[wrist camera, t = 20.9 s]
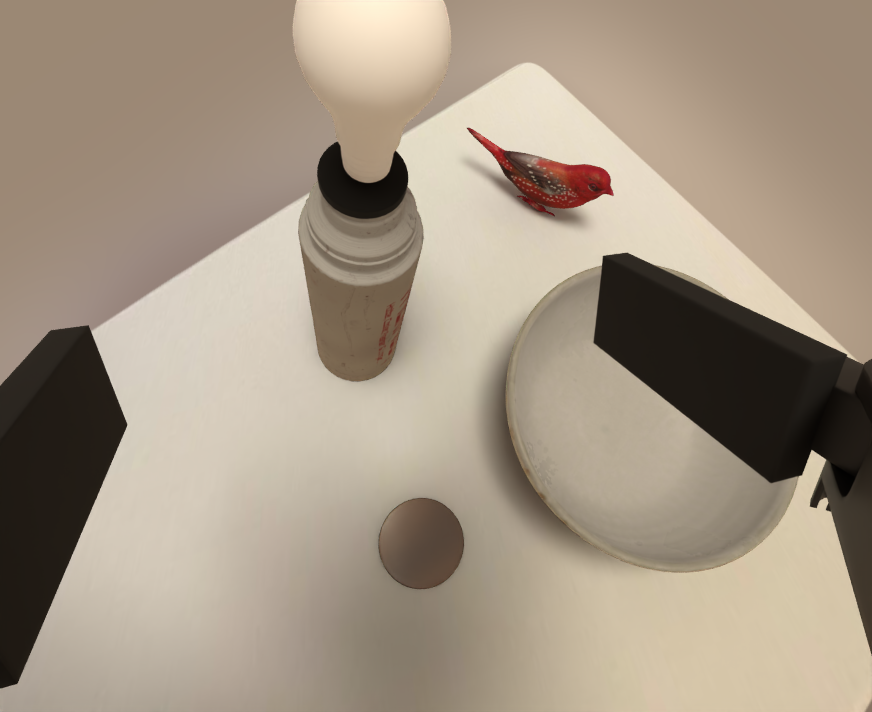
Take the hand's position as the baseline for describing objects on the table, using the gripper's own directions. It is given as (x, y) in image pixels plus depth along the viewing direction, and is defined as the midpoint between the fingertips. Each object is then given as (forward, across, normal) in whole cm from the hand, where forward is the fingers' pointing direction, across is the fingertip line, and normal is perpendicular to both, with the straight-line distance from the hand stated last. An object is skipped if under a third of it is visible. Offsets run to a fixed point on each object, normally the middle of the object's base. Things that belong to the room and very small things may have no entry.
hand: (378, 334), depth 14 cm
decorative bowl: (+27, +26, -28) cm, 47 cm away
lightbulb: (+17, +2, +2) cm, 17 cm away
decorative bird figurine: (+48, +25, -8) cm, 54 cm away
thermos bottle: (+37, +3, -18) cm, 41 cm away
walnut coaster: (+22, +5, -33) cm, 40 cm away
